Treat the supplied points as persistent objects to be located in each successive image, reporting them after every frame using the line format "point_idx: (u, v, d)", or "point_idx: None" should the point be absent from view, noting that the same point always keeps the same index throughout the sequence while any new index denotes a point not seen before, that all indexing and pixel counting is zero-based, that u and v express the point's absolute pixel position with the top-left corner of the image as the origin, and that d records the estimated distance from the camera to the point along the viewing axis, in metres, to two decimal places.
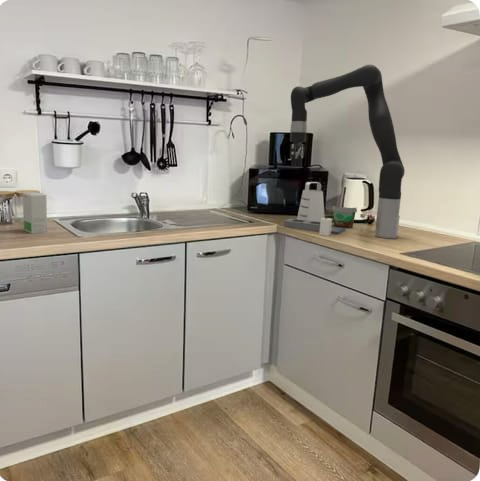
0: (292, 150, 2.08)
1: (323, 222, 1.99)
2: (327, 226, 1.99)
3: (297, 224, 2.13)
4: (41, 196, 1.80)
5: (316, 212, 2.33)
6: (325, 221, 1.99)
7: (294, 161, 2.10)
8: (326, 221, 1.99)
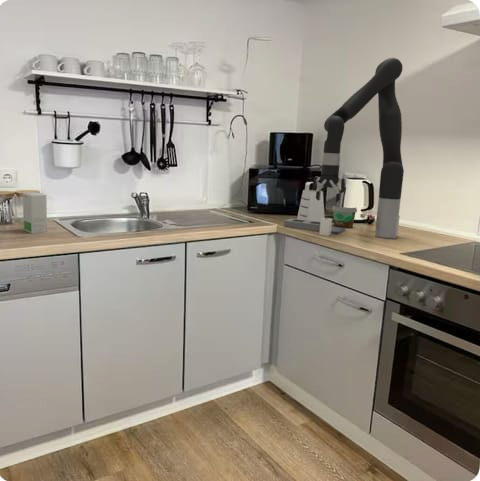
0: (344, 185, 1.94)
1: (323, 222, 1.99)
2: (327, 226, 1.99)
3: (297, 224, 2.13)
4: (41, 196, 1.80)
5: (316, 212, 2.33)
6: (325, 221, 1.99)
7: None
8: (326, 221, 1.99)
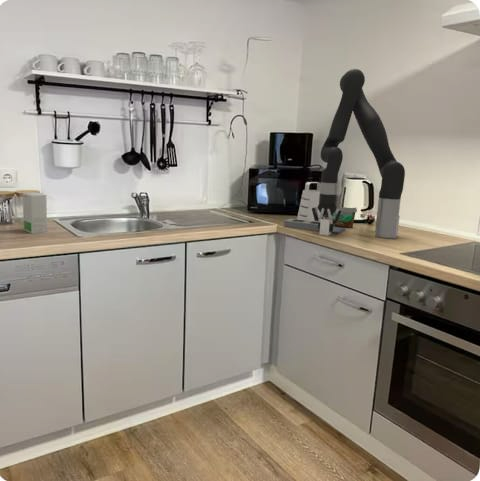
0: (339, 217, 1.98)
1: (323, 222, 1.99)
2: (327, 226, 1.99)
3: (297, 224, 2.13)
4: (41, 196, 1.80)
5: None
6: (325, 221, 1.99)
7: (333, 226, 2.00)
8: (326, 221, 1.99)
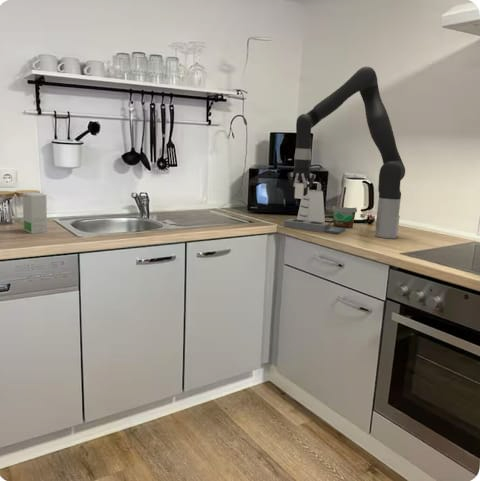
0: (313, 181, 2.10)
1: (298, 186, 2.12)
2: (301, 190, 2.11)
3: (297, 224, 2.13)
4: (41, 196, 1.80)
5: (316, 212, 2.33)
6: (299, 185, 2.11)
7: (307, 190, 2.13)
8: (300, 185, 2.11)
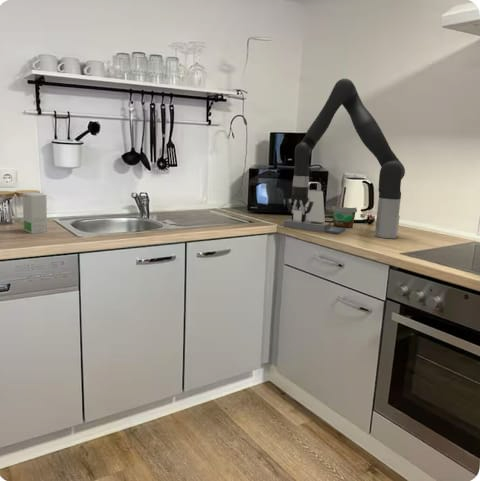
0: (311, 207, 2.13)
1: (296, 213, 2.15)
2: (300, 217, 2.14)
3: (297, 224, 2.13)
4: (41, 196, 1.80)
5: (316, 212, 2.33)
6: (298, 212, 2.14)
7: (305, 216, 2.16)
8: (299, 212, 2.14)
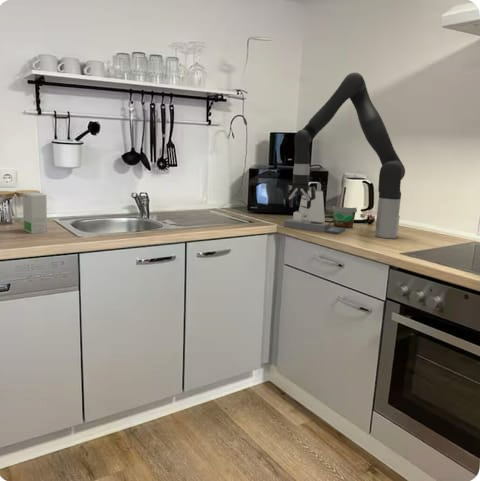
0: (314, 193, 2.11)
1: (296, 215, 2.15)
2: (299, 219, 2.14)
3: (297, 224, 2.13)
4: (41, 196, 1.80)
5: (316, 212, 2.33)
6: (298, 214, 2.14)
7: (310, 203, 2.13)
8: (298, 214, 2.14)
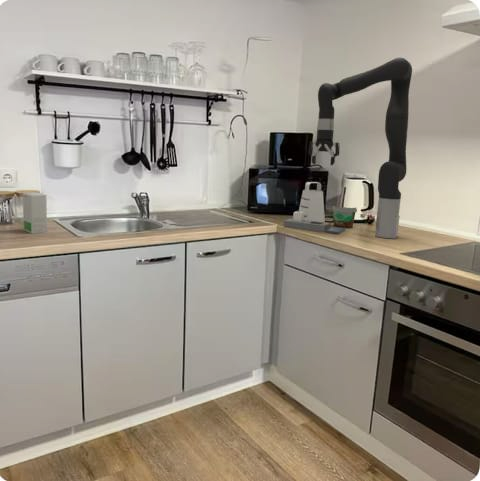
0: (338, 149, 2.07)
1: (296, 215, 2.15)
2: (299, 219, 2.14)
3: (297, 224, 2.13)
4: (41, 196, 1.80)
5: (316, 212, 2.33)
6: (298, 214, 2.14)
7: (334, 159, 2.09)
8: (298, 214, 2.14)
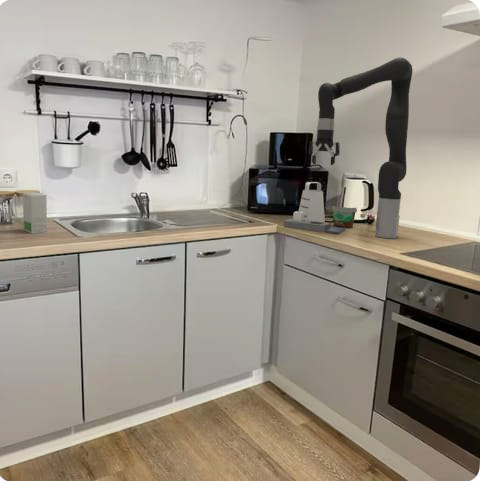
0: (338, 148, 2.07)
1: (296, 215, 2.15)
2: (299, 219, 2.14)
3: (297, 224, 2.13)
4: (41, 196, 1.80)
5: (316, 212, 2.33)
6: (298, 214, 2.14)
7: (334, 159, 2.09)
8: (298, 214, 2.14)
